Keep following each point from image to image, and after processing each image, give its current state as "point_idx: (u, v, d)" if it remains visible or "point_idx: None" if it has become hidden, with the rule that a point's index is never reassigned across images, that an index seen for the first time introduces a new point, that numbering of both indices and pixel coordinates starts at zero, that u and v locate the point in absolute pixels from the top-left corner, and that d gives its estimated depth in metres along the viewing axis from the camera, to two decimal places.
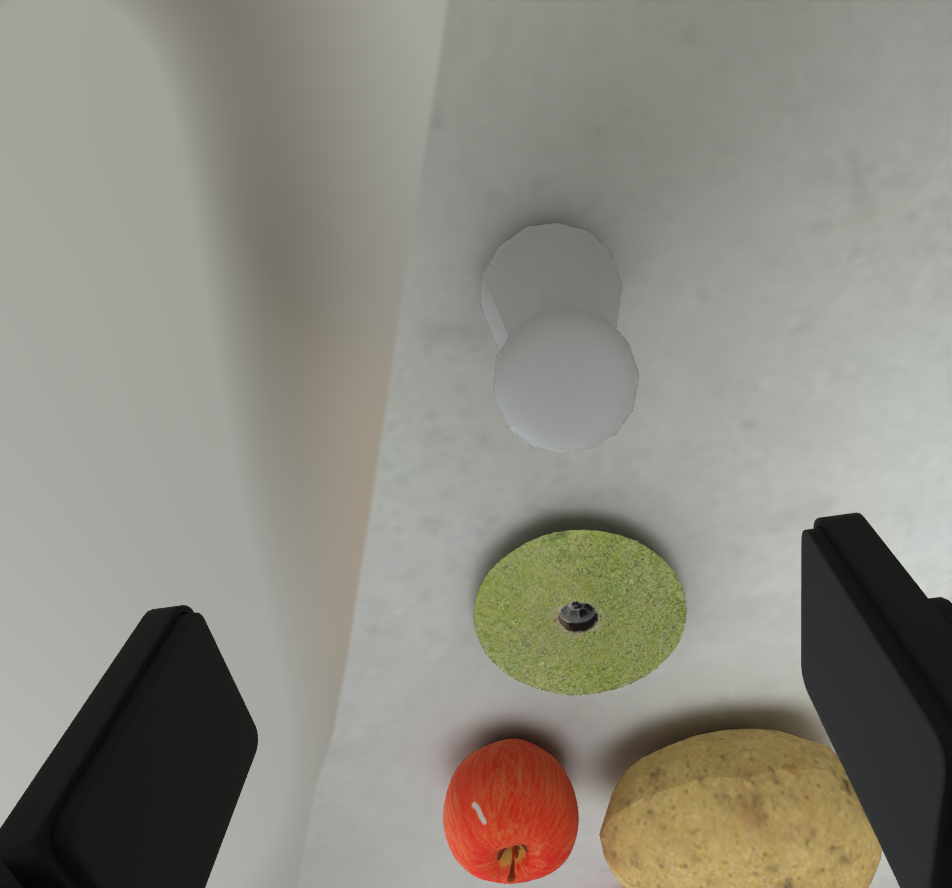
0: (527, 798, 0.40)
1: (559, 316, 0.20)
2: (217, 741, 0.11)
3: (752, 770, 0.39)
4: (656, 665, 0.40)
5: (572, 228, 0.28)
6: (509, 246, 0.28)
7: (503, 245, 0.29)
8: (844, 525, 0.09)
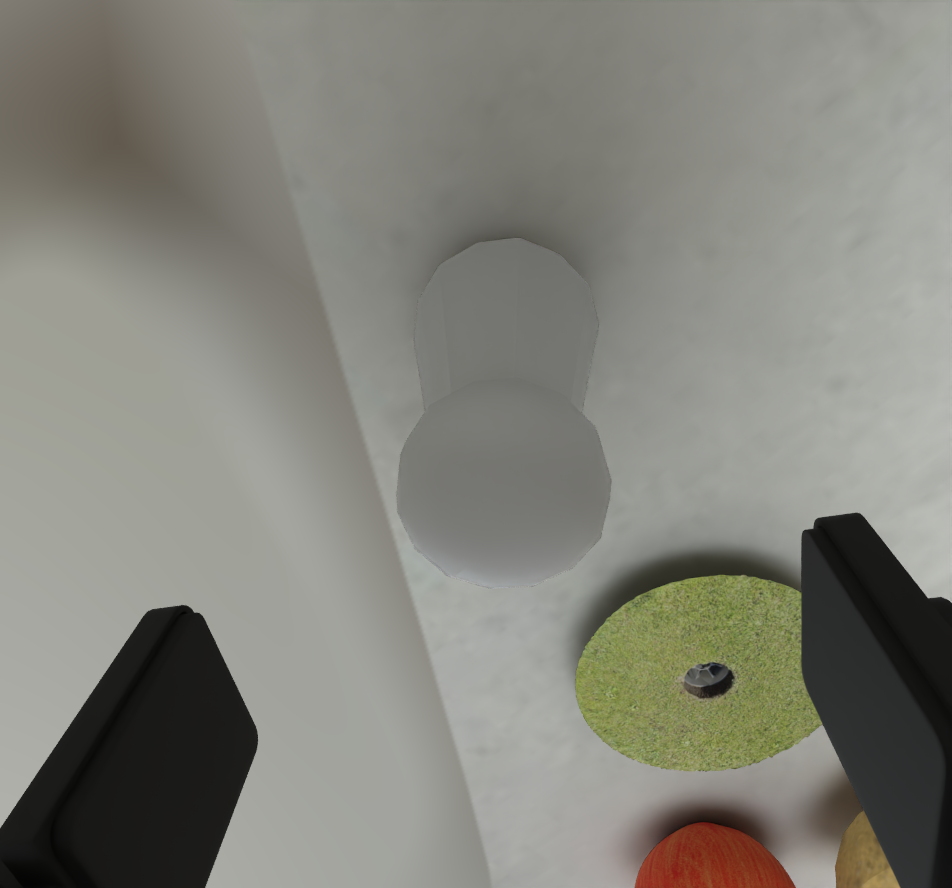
0: None
1: (449, 408, 0.14)
2: (217, 741, 0.11)
3: None
4: None
5: (495, 243, 0.21)
6: (426, 296, 0.22)
7: (421, 297, 0.22)
8: (844, 525, 0.09)
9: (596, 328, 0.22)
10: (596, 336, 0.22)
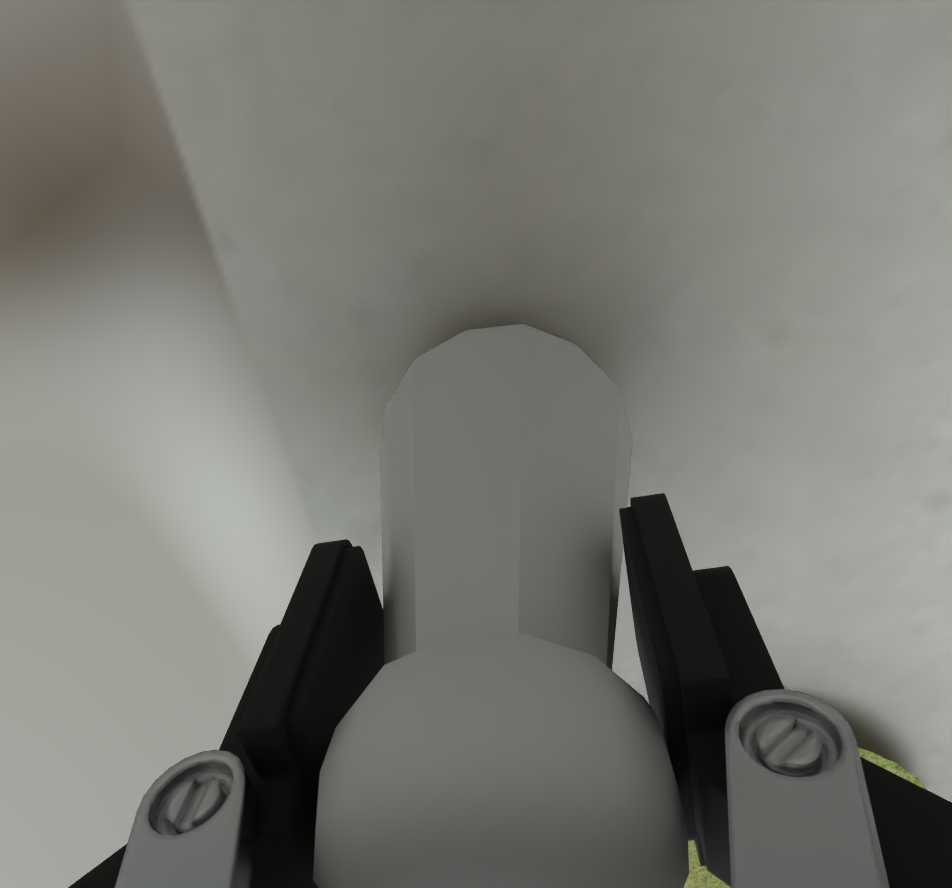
0: None
1: (400, 714, 0.08)
2: (378, 666, 0.12)
3: None
4: None
5: (490, 334, 0.15)
6: (394, 407, 0.16)
7: (389, 404, 0.16)
8: (647, 504, 0.11)
9: (630, 449, 0.16)
10: None
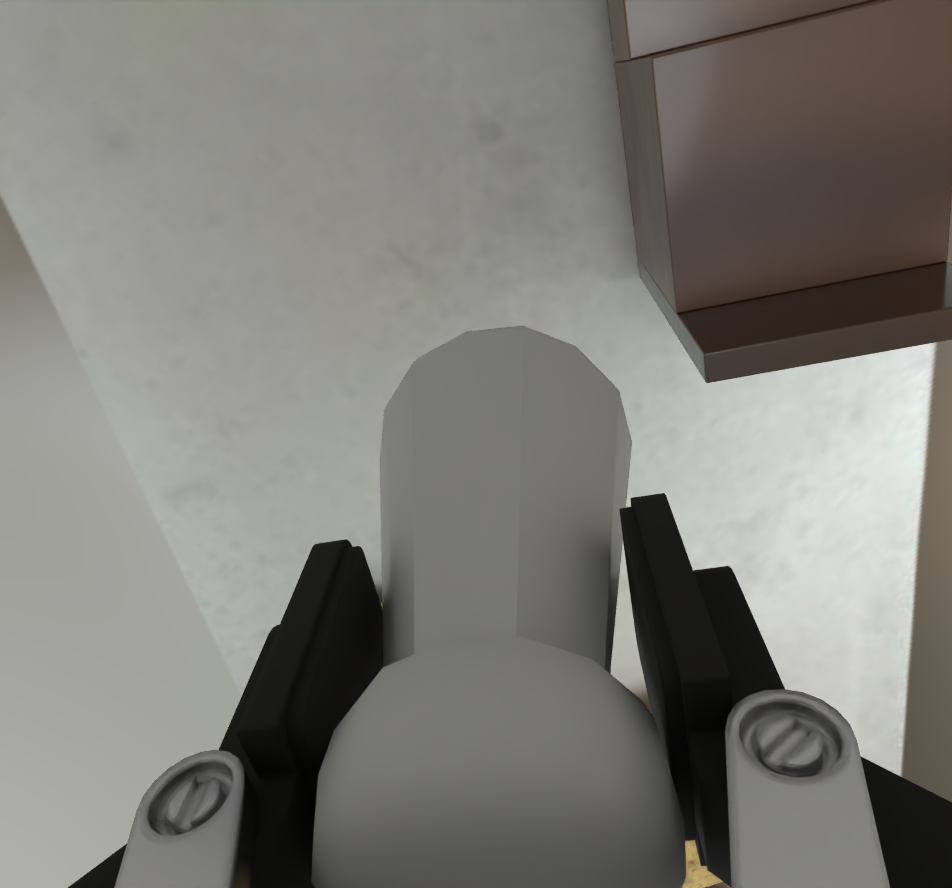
0: None
1: (398, 718, 0.08)
2: (378, 667, 0.12)
3: None
4: None
5: (490, 336, 0.15)
6: (394, 409, 0.16)
7: (389, 406, 0.16)
8: (648, 503, 0.11)
9: (629, 451, 0.16)
10: None
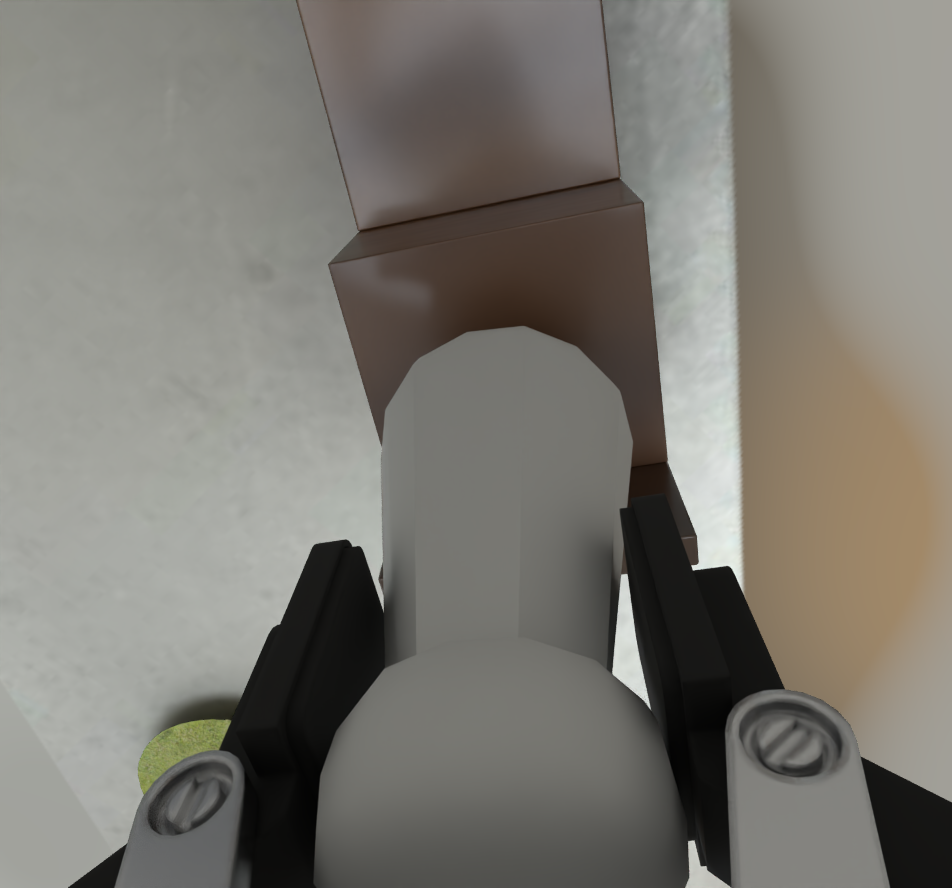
0: None
1: (401, 719, 0.08)
2: (378, 667, 0.12)
3: None
4: None
5: (491, 337, 0.15)
6: (395, 409, 0.16)
7: (390, 406, 0.16)
8: (648, 504, 0.11)
9: (630, 451, 0.16)
10: None
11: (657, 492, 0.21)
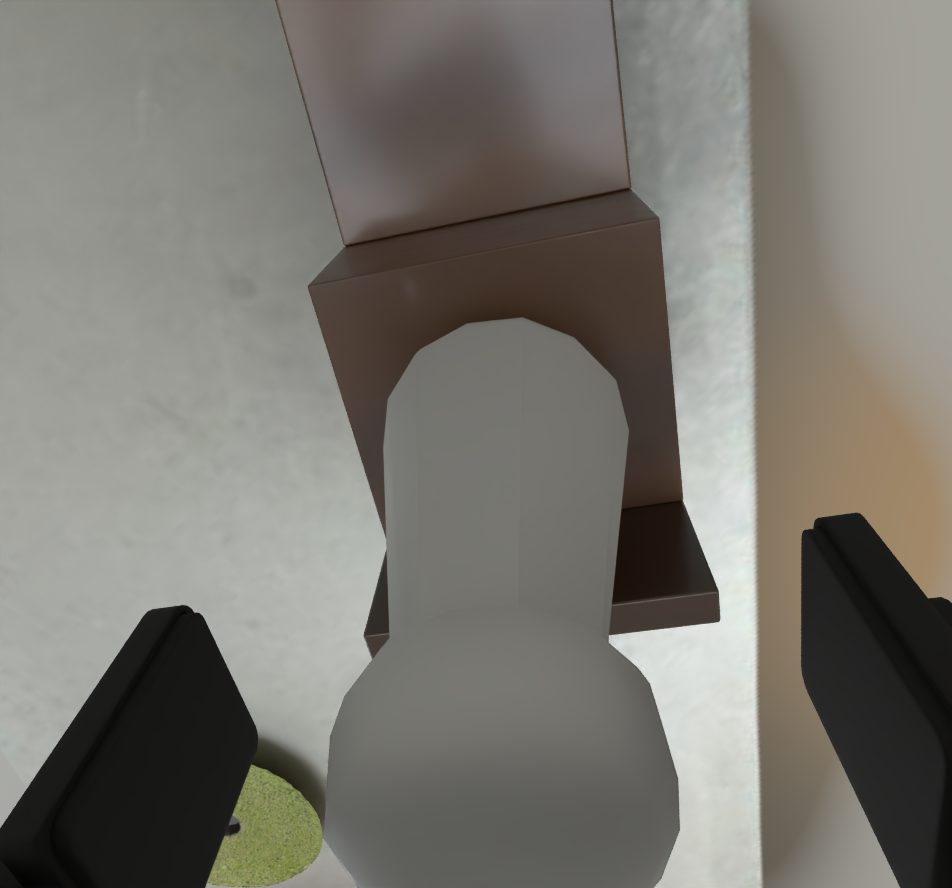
0: None
1: (407, 679, 0.08)
2: (217, 741, 0.11)
3: None
4: (318, 844, 0.40)
5: (490, 327, 0.16)
6: (397, 398, 0.16)
7: (392, 395, 0.17)
8: (844, 525, 0.09)
9: (626, 439, 0.16)
10: None
11: (672, 537, 0.19)
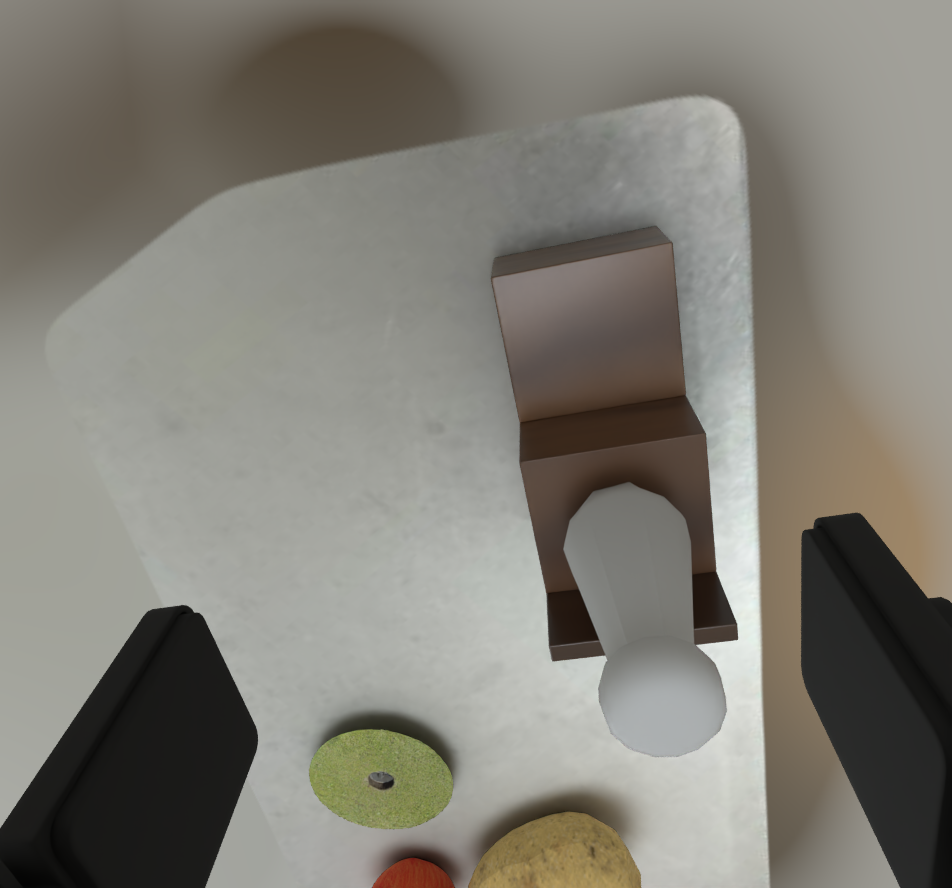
0: None
1: (637, 660, 0.24)
2: (217, 741, 0.11)
3: (531, 855, 0.54)
4: (449, 796, 0.56)
5: (624, 495, 0.32)
6: (577, 528, 0.33)
7: (572, 525, 0.33)
8: (844, 525, 0.09)
9: (690, 548, 0.33)
10: None
11: (711, 593, 0.36)
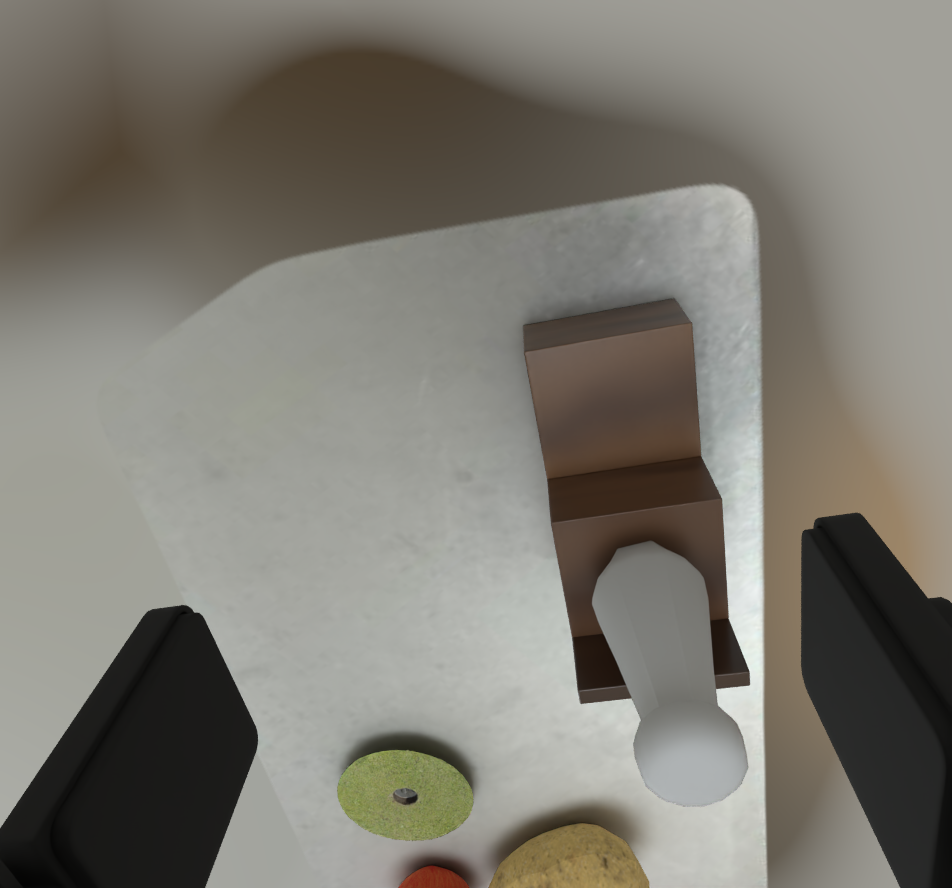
0: None
1: (669, 724, 0.28)
2: (217, 741, 0.11)
3: (547, 865, 0.58)
4: (469, 810, 0.60)
5: (649, 558, 0.35)
6: (606, 587, 0.36)
7: (600, 583, 0.36)
8: (844, 525, 0.09)
9: (708, 604, 0.36)
10: None
11: (725, 640, 0.39)
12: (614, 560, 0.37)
